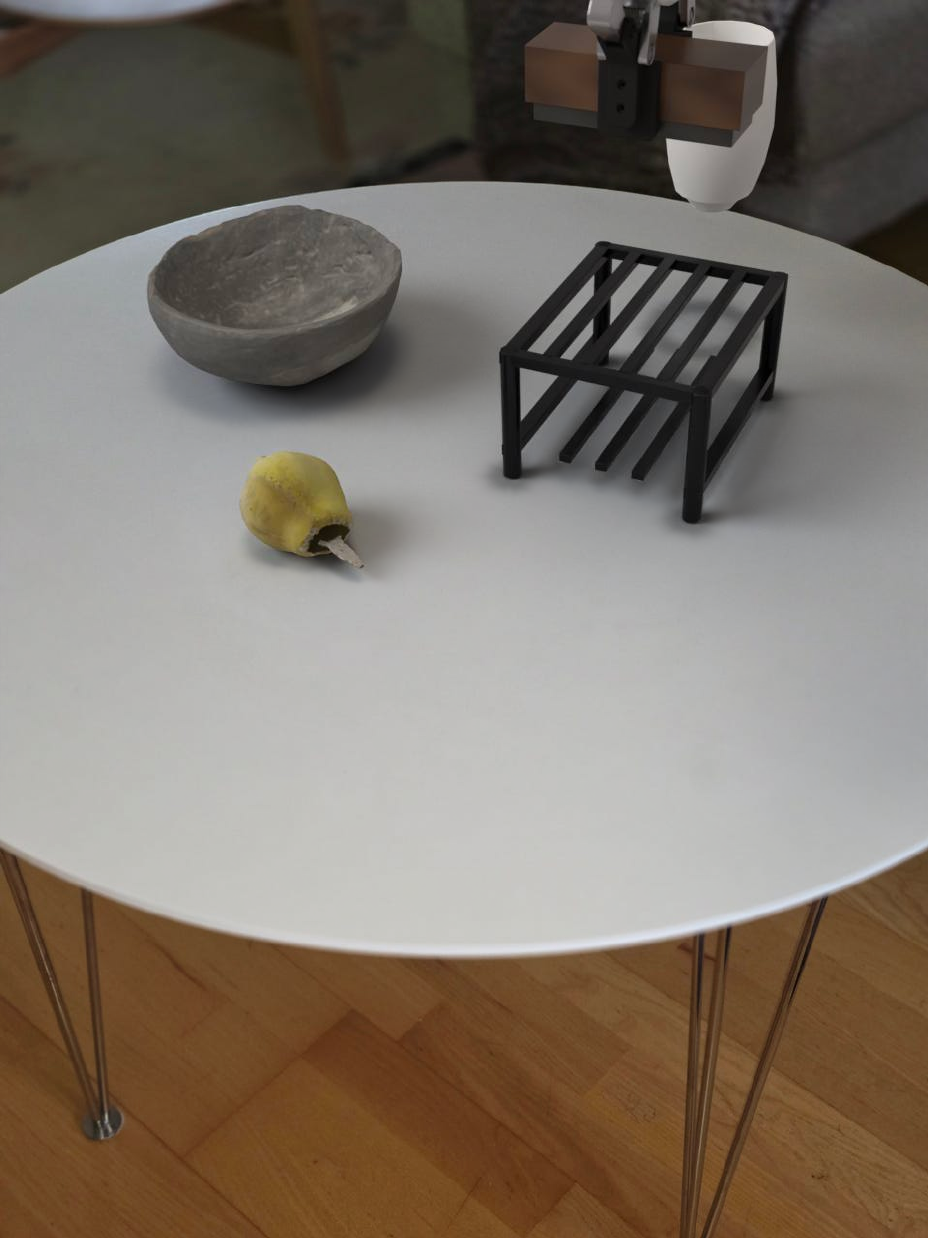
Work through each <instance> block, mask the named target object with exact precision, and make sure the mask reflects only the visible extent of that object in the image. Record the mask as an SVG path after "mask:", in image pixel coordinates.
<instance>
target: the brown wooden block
mask: <svg viewBox="0 0 928 1238" xmlns="http://www.w3.org/2000/svg"><path fill="white" fill-rule="evenodd" d="M596 51H597V37H596V34H595V33H594V32H593V31H592V30H591V29H590V28H589V27H588V25H587V24H586V25H585V24H577V23H576V24H575V23H569V22H567V23H566V22H558V21H553V23H551V24H550V25H548V27H546V28H545V29H544V30H541V32H540V33H538V35H536V36H534V37H533V38H532V39H531V40H529V41H528V42H527V43H526V44H525V45H524V98H525V99H524V101H525V103H532V104H533V120H534V121H539V122H547V123H555V124H560V125H561V124H563V125H569V126H574V127H575V126H577V127H582V128H591V129H596V130H598V129H597V114H598V72H599V60H598V59H597V54H596ZM767 54H768V46H761V45H752V44H743V43H735V42H726V41H717V40H708V39H700V38H691V37H682V36H673V35H664V34H657V41H656V50H655V57H654V60H658V61H661V80H660V99H659V118H658V133H657V135H656V136H655V137H654V138H659V139H660V138H661V139H665V140H666V139H673V140H680V141H688V142H695V143H702V144H709V145H716V146H723V147H730V148H731V147H732V146H733V145H734V144H735V143H736V141H737V140H738V139H739V138H740V137H741V135H742V134H743V133H744V132H745V131H746V129H747V128H748V127H749V126H750V125H751V123H752V118H753V114H754V113H755V112H756V111H757V110H758V109H759V107H760V106H761V105H762V103H763V93H764V83H765V74H766V64H767Z"/></svg>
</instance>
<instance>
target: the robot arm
mask: <svg viewBox="0 0 928 1238" xmlns="http://www.w3.org/2000/svg"><path fill="white" fill-rule="evenodd" d="M625 9H627V10H635V11H638V17H639V22H640V24H638V23H637V21H636V19H635V18H634V17H630V16H627V15H626V14H627V12H626V11H625ZM695 18H696V0H589V3H588V8H587V11H586V26H588V27H589V28H590V29H591V30H592V31H593V32H594V33H595V34H596V37H597V51H596V54H597V59H598V60H599V72H598V114H597V129H596V130H597V131H598V133H599V134H600V135H602V136H607V137H615V138H621V139H627V140H635V141H642V142H652V140H654V138H656V137H655V136H656V135H657V133H658V118H659V99H660V80H661V61H658V60H654V57H655V50H656V41H657V34H664V35H673V36H682V37H691V38H692V34H693V31H689V30H683V29H684V28H691V27H692V25H694V21H695Z"/></svg>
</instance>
